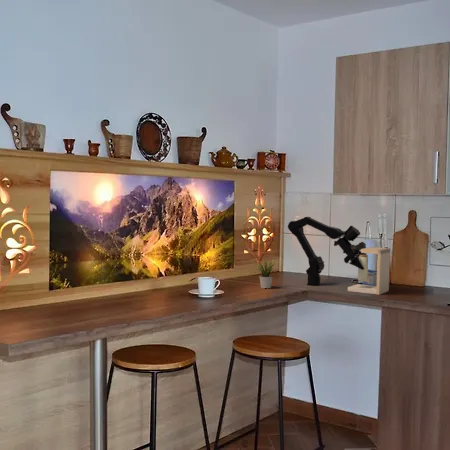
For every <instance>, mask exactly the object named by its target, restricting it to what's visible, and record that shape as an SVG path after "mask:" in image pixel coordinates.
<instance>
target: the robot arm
mask: <svg viewBox="0 0 450 450" xmlns="http://www.w3.org/2000/svg"><path fill="white" fill-rule="evenodd" d="M287 224H288V225H287V229H288V230H289V231H290V233H291V234H292V235H293V236H294V237H296V239H297V241H298V243H299V244H300V246H301V248H302V250H303V252H304V253H305V255H306V257H307V260H308V265H309V267H308V268H307V269H306V270H305V271H306V275H307V284H306V285H307V286H320V285H321V280H322V277H321V273H322V271H323V270H324V269H325V264H324V263H325V261H324V260H323V258H322V257H321V256H318V255H316V253H315V251H314V249H313V247H312V246H311V244H310V242H309V240H308V238H307V237H306V235H305V231H304V227H306V226H310V227H312V228H314V229H316V230H318V231H320V232H321V233H322V232H323V233H324V234H325V235H326V236H327V237H328V238H329V239H332V240H334V242H333V246H334V247H338V246H339V247H340V248H339V249H341V250H342V253H343V254H345V255H346V256H344V258H343V261H344V263H345V264H349V265H351V266H353V267H356V268H360V269H362V270H364V267H363V266H362V264H361V262H360V261H359V255H360V254H365V255H368V253H361V249H364V248H367V244H366V242H364V241H361V242H359V243H358V244H356V245H355V244H352V243H351V242H354V241H355V240H356V239H357V238H358V237H359V236H360V235H361V232H360V230H359V229H357V228H356V227H355V226H354V225H349V227H348V228H347V229H346V230H345V231H344V230H342V229H341V228H340V227H339V228H338V227H334V226H330V225H328V224H325V223H323V222H321V221H318V220H316V219H314V218H312V217H310V216H305V217H302V218H299V219H297V220H291V221H289V222H288V223H287Z"/></svg>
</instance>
